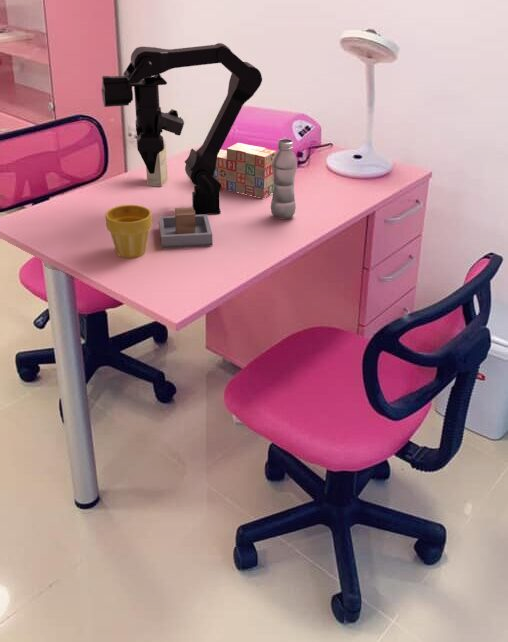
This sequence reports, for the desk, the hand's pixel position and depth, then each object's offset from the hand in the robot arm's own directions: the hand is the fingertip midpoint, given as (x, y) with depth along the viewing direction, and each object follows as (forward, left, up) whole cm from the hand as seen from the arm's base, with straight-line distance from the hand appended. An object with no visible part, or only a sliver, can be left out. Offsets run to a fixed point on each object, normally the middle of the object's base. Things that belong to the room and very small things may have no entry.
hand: (151, 167), depth 180 cm
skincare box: (-2, -24, -13) cm, 27 cm away
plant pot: (+6, +21, -13) cm, 26 cm away
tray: (-7, +14, -13) cm, 20 cm away
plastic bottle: (-33, +5, -13) cm, 36 cm away
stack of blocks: (-24, -17, -13) cm, 32 cm away
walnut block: (-7, +14, -12) cm, 20 cm away
